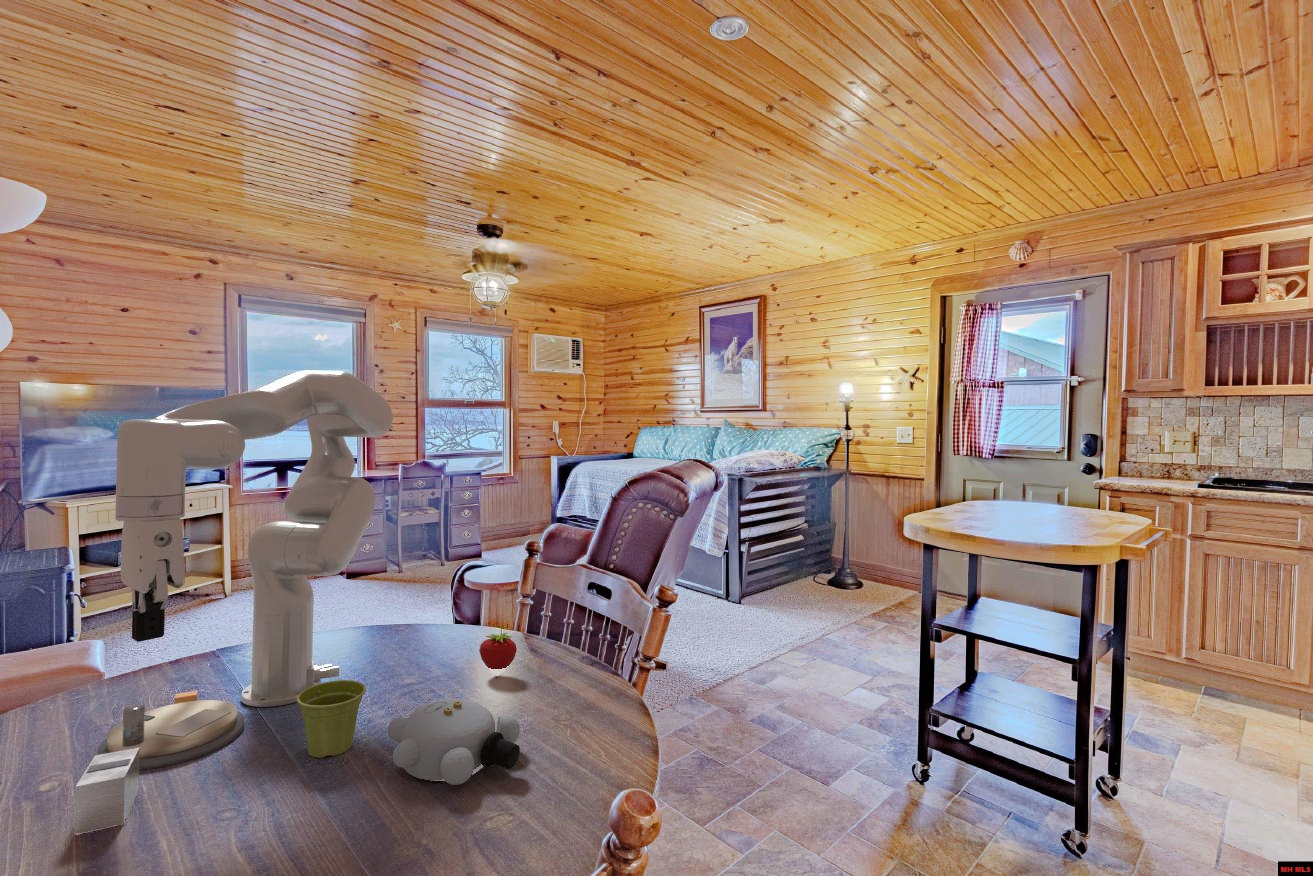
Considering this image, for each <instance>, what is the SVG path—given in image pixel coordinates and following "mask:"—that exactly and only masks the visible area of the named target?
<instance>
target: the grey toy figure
mask: <svg viewBox="0 0 1313 876" xmlns="http://www.w3.org/2000/svg"><path fill="white" fill-rule="evenodd" d="M495 721H496V720H495V718H494V716H493V713H492V712H491V711H490V710H489V709H487V708H486V707H485V706H483V705H481V704H479V702H477V701H473V700H467V699H462V698H444V699H443V698H442V699H438V700H434V701H431V702H425V703H420V704H419V705H418V706H417V707H416V708H415V710H414V711H413V712H412V713H411V714H410V715H409V716H408V717H402V716H400V717H395V718H394V719H392V720H391V722H390V723H389V724H388V727H387V737H389V738H390V740H392V741H394V742H396V743H398V744H397V745H396V746H395V748H394V749H393V753H392V760H393V763H394V765H395V766H397V767H399V768H402V769H403V770H404V771H405V772H406V773H407V774H409V775H410V776H412V777H414V778H417V779H420V780H422V779H425V780H424V781H426V780H441V779H444V780H445V781H446V782H445V783H447V784H449V785H453V786H457V785H462V784H464V783H466V782H468V780H470V778H471V777H472V776H473V775H472V773H473V770H474V769H476V768H477V767H479V766H480V765H481V764H482V765H483V766H485V767H484V768H491V767H492V766H494V765H495V766H498V767H500V768H503V769H505V770H511V769H513V768H514V767H515V766H516V764H517V762H518V760H519V757H520V753H521V752H520V751H521V748H520V745H519V744H517V743H516V742H517V740H518V739H519V736H520V729H521V728H520V723H519V721H518V719H516V718H515V717H514V716H513V715H512V716H511V715H508V714H507V715H499V716H498V717H497V722H495ZM471 775H472V776H471Z"/></svg>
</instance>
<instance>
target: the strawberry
mask: <svg viewBox="0 0 1313 876" xmlns="http://www.w3.org/2000/svg"><path fill="white" fill-rule="evenodd" d="M502 627H503V626H502V625H500V635H499V634H490V635H485V638H487V639H485V640H483V641H482V643H480V646H479V649H478V650H479V651H478V652H479V655H480V658H481V660H482V661H483V663H484V665H485V666H486V667H488V668H491V669H502V668H506V667H507V666H509V667H510V665H511V663H512V662H513V661H514V659H515V657H516V655H517V644H516V642H515V641H513V639H511V638H512V636H511V635H507V634H508V632H504V633H503V632H502V629H503V628H502ZM488 668H487V669H488Z"/></svg>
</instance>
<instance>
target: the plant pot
mask: <svg viewBox="0 0 1313 876" xmlns="http://www.w3.org/2000/svg"><path fill="white" fill-rule="evenodd" d="M366 691H367V687H366V685H365V684H364V683H363V682H361V681H359V680H358V681H357V680H352V679H349V680H348V679H339V680H332V681H325V682H321V683H320V684H317V685H314V686H311V687H309V688H307V689H305V690H303V691H302V692H301V693H299V695H298V696H297V702H296V703H297V704H298V705H299V707H300V711H301V713H302V719H303V725H304V732H305V739H306V740H305V741H306V750H307V751H306V752H307V754H308V755H309V756H310V757H313V758H318V759H319V758H320V759H322V758H325V757H327V756H333V757H335V756H339V755H342V754H343V753H345V752H347V751H349V749H350V748H351V747H352V745H353V744H354V743H353V742H354V737H355V731H356V725H357V720H358V714H359V708H360V704H361V703H362V700H363V696H364V694H365V693H366Z"/></svg>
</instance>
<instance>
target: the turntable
mask: <svg viewBox="0 0 1313 876" xmlns="http://www.w3.org/2000/svg"><path fill="white" fill-rule="evenodd" d="M145 709H146V706H145V704H135V705H129V706H127V707H125V708H124V709H123V710H122V721H121V722H120V723H118V724H117V725H116V726H114V727H113V728H112V729H111V730H110V731H109V732H108V733H107V735H106V738H107V751H108V752H109V753H112V752H117V751H123V750H128V749H134V748H139V747H140V753H139V758H146V757H155V756H162V755H167V754H172V753H176V752H180V751H184V750H187V749H191V748H194V747H197V746H200V745H202V744H205V743H207V742H210V741H212V740H214V739H216V738H218V737H220V736H222V735H223V734H225V733H226V732H228V731H229V730H230V729H231V728H232V727H233V726H234V725H235V724H236V722H237V711H238V708H237V706H236V705H234V703H232V702H229V701H224V700H215V699H203V700H198V701H190V702H183V703H177V704H174V703H173V704H169V705H164V706H159V707H156V708H153V709H150V710H147V711H145Z"/></svg>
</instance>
